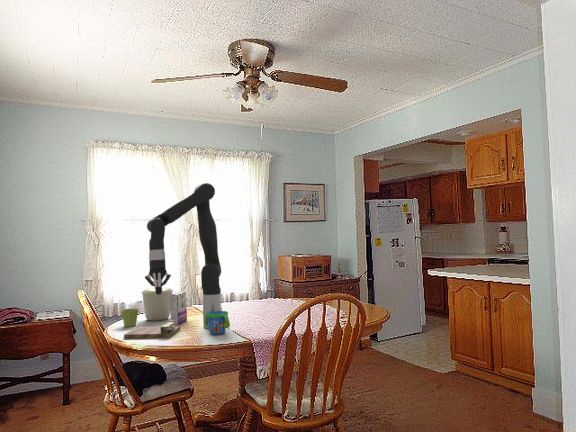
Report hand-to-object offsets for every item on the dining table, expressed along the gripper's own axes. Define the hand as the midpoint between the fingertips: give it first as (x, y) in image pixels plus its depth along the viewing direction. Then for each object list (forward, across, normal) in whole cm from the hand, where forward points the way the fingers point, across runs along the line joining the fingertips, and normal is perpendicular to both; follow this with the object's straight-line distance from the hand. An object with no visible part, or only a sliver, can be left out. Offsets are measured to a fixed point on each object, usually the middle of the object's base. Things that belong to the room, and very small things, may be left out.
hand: (158, 294), depth 210 cm
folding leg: (+18, -4, 0) cm, 18 cm away
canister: (+19, +14, -42) cm, 49 cm away
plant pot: (+19, +24, -24) cm, 39 cm away
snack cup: (+21, -28, +2) cm, 35 cm away
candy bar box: (+20, -1, -30) cm, 35 cm away
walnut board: (+19, +4, -1) cm, 20 cm away
